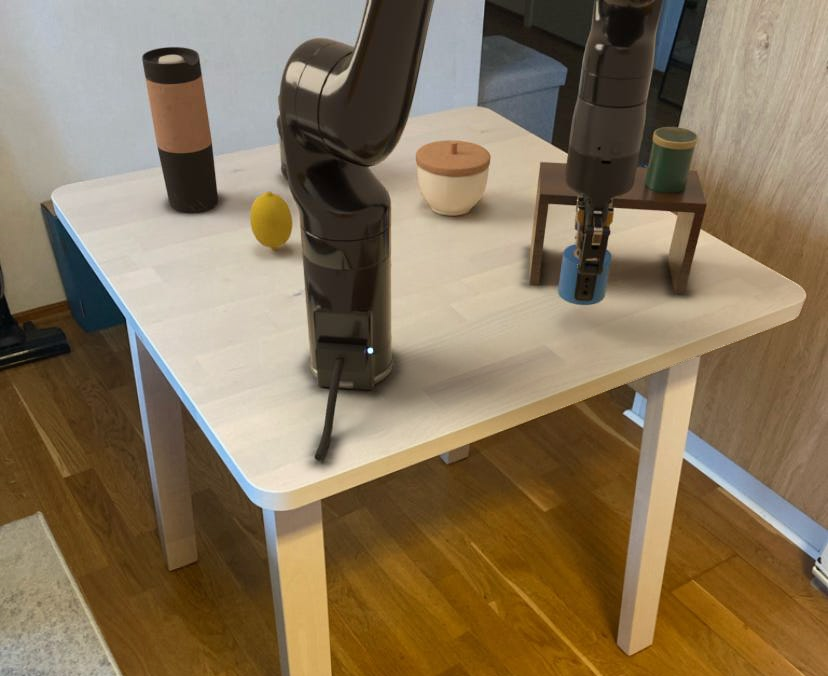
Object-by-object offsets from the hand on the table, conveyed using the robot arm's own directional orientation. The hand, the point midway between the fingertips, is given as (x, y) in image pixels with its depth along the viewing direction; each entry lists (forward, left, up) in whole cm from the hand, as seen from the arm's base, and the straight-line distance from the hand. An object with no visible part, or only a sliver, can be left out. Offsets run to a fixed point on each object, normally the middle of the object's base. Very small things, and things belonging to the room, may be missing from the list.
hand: (582, 285), depth 106 cm
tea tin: (+14, -10, +7) cm, 18 cm away
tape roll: (0, 0, -1) cm, 1 cm away
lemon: (+14, +41, -5) cm, 43 cm away
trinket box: (+31, +18, -5) cm, 36 cm away
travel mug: (+27, +56, -5) cm, 62 cm away
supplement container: (+39, +40, -5) cm, 56 cm away
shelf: (+14, -4, -5) cm, 15 cm away
